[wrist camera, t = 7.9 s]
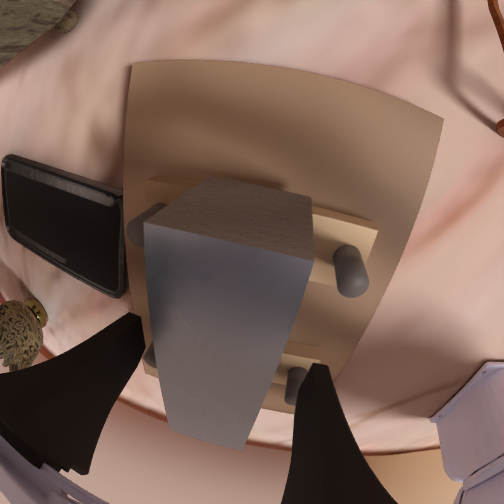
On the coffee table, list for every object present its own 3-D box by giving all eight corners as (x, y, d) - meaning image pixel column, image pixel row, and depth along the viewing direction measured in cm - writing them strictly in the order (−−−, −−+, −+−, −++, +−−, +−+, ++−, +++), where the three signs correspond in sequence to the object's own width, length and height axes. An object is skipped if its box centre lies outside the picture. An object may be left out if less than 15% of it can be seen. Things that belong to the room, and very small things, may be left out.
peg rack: (309, 404, 20) (305, 447, 16) (150, 363, 21) (130, 399, 17) (432, 117, 9) (481, 122, 6) (145, 66, 10) (90, 56, 7)
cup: (28, 271, 20) (-24, 317, 13) (70, 329, 22) (27, 382, 15) (14, 290, 23) (-26, 329, 16) (50, 338, 25) (14, 381, 18)
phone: (1, 154, 14) (127, 198, 13) (10, 151, 15) (138, 192, 14) (7, 235, 17) (123, 304, 17) (15, 230, 18) (131, 295, 18)
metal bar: (257, 382, 16) (241, 450, 12) (197, 366, 16) (170, 430, 12) (311, 196, 10) (314, 261, 6) (210, 176, 10) (143, 222, 6)
